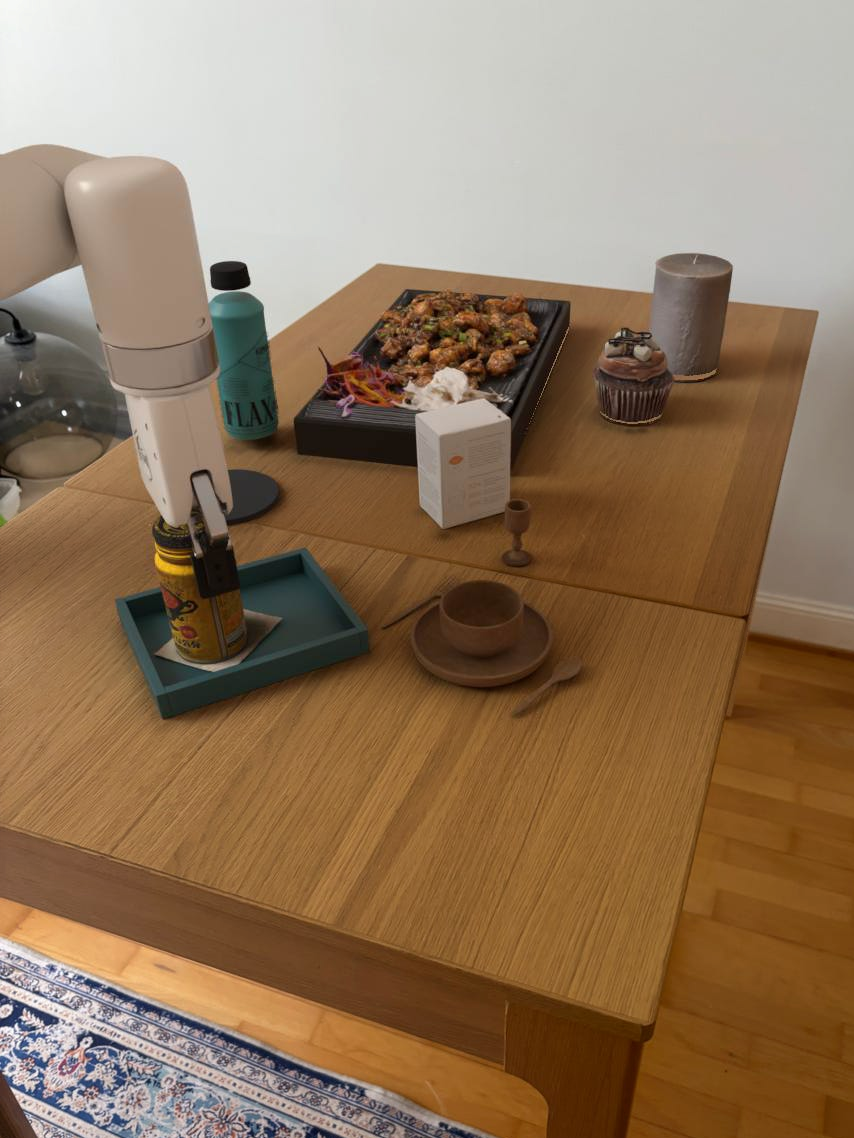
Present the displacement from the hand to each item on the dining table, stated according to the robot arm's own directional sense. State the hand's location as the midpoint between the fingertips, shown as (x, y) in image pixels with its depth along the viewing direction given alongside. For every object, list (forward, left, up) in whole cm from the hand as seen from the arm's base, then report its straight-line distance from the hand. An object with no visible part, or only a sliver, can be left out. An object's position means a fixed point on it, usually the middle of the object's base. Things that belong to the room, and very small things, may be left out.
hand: (207, 570), depth 79 cm
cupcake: (+58, +21, -8) cm, 62 cm away
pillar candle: (+72, +29, -8) cm, 78 cm away
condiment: (0, 0, -7) cm, 7 cm away
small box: (+29, +10, -8) cm, 32 cm away
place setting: (+23, -10, -8) cm, 26 cm away
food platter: (+42, +39, -8) cm, 58 cm away
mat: (+8, +24, -8) cm, 27 cm away
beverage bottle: (+15, +36, -8) cm, 40 cm away
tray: (+2, 0, -8) cm, 8 cm away
